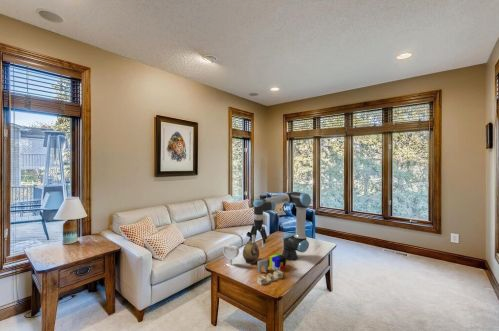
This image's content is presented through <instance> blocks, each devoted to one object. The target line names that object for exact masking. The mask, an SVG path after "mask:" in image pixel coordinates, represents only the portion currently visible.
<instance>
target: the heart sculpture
mask: <svg viewBox="0 0 499 331" xmlns="http://www.w3.org/2000/svg"><path fill="white" fill-rule="evenodd" d="M222 253H223V255H224V257H226V259H227V260H229V261H228V263H227V264H226V263H225V264H226V265H227V266H226V267H228V266H230V267H229V268H232V267H233V268H232V269H236V268H235V267H237V268H238V265H234V264H233V260H234V259H235V258H237V257H238V256H239V253H240V248H239V247H238V246H236V245H231V244H225V245H223V246H222Z"/></svg>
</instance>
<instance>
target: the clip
mask: <svg viewBox="0 0 499 331" xmlns="http://www.w3.org/2000/svg"><path fill="white" fill-rule="evenodd" d="M256 261H257V264H256V266H257V268H256V269H257V271H256V273H258V274H262V266H263V270H264V271H265V272H267V271H269V259H267V258H264V259H260V260H256Z"/></svg>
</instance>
